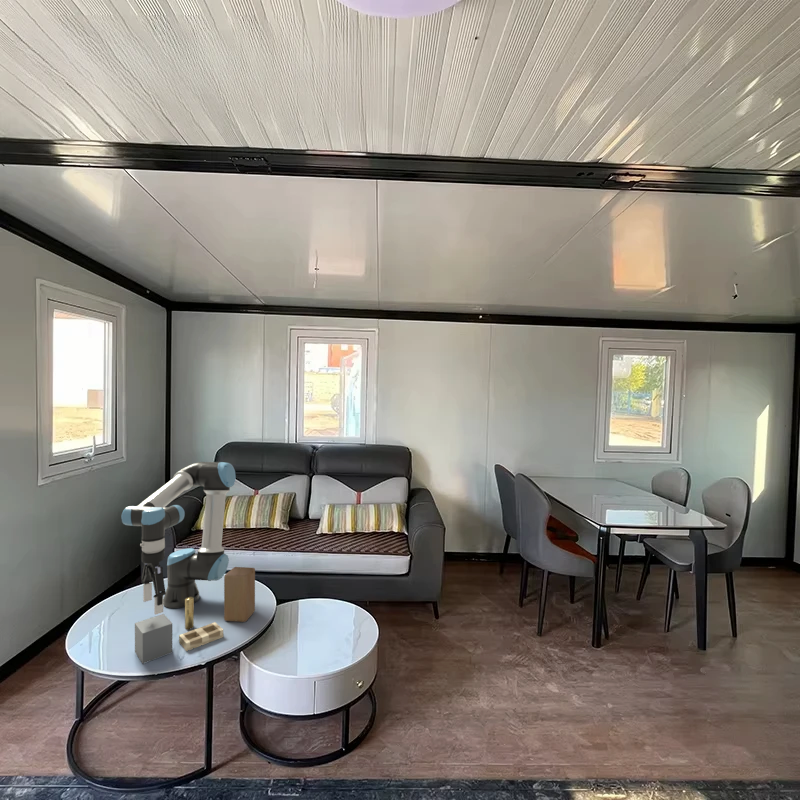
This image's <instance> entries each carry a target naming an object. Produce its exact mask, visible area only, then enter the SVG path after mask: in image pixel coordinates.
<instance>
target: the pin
mask: <svg viewBox="0 0 800 800" xmlns="http://www.w3.org/2000/svg"><path fill="white" fill-rule="evenodd" d="M194 604H195V603H194V598H193V597H188V598H186V599H185V607H184V629H185V630H193V628H194V625H195V624H194V623H195V622H194V620H195V618H194V615H195V614H194V613H195V612H194V609H195V608H194V607H195V606H194Z"/></svg>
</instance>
